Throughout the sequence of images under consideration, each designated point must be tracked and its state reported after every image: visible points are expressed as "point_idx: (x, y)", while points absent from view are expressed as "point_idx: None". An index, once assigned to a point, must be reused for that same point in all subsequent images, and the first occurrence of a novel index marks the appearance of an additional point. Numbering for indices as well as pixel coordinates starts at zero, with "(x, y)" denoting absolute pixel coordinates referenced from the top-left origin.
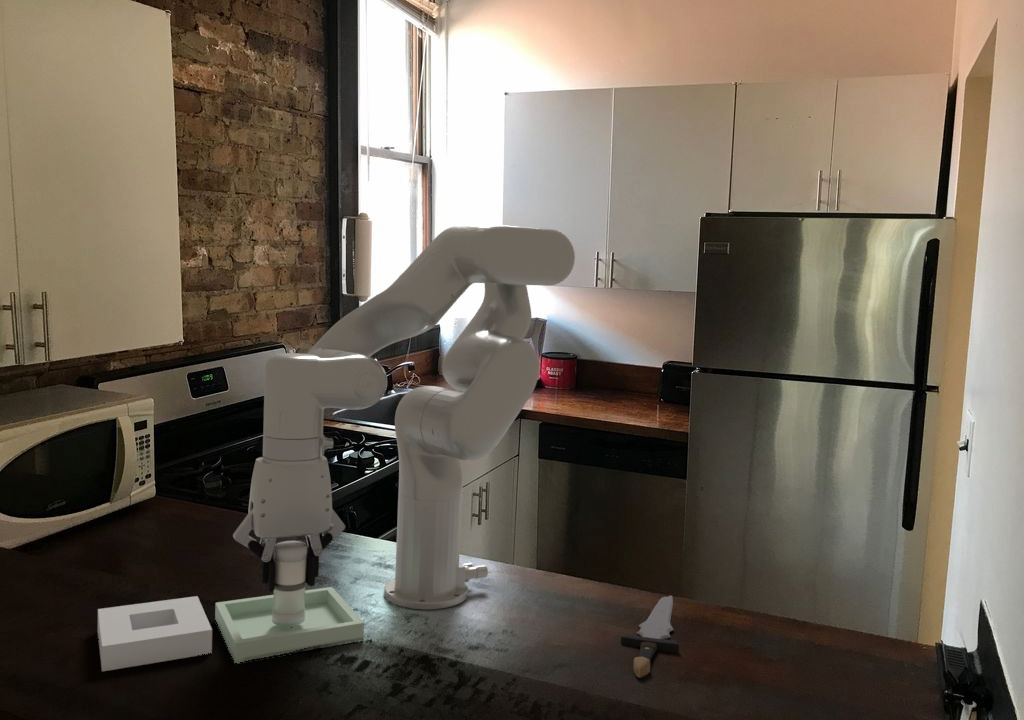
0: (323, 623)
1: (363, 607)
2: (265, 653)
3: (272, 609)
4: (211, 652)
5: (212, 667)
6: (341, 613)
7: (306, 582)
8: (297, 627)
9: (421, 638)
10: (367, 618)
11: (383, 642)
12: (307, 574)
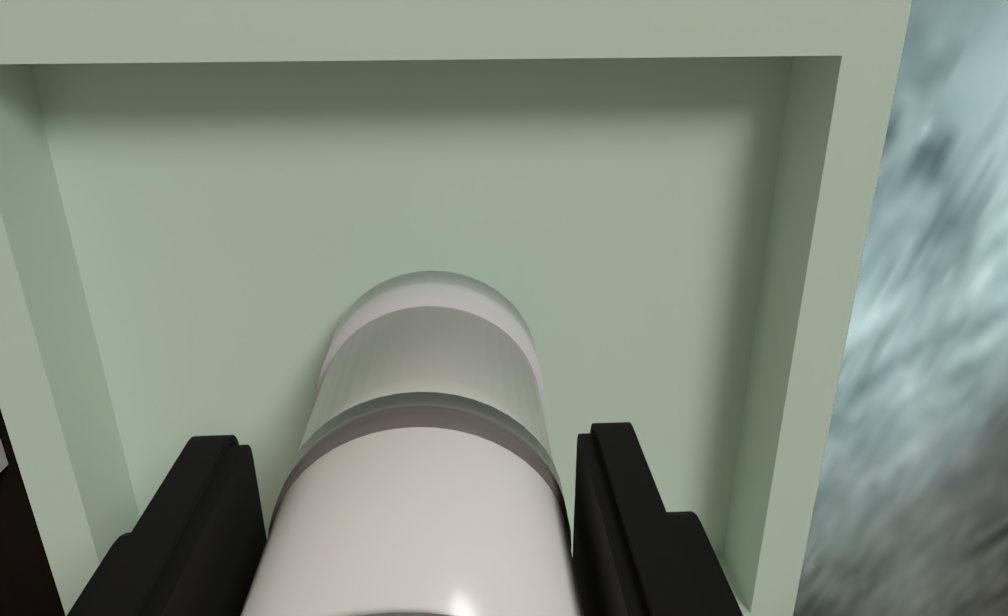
0: (639, 374)
1: (991, 145)
2: None
3: (318, 387)
4: (5, 464)
5: (29, 589)
6: (765, 389)
7: (574, 526)
8: None
9: (995, 610)
10: (914, 320)
11: (826, 596)
12: (586, 608)
